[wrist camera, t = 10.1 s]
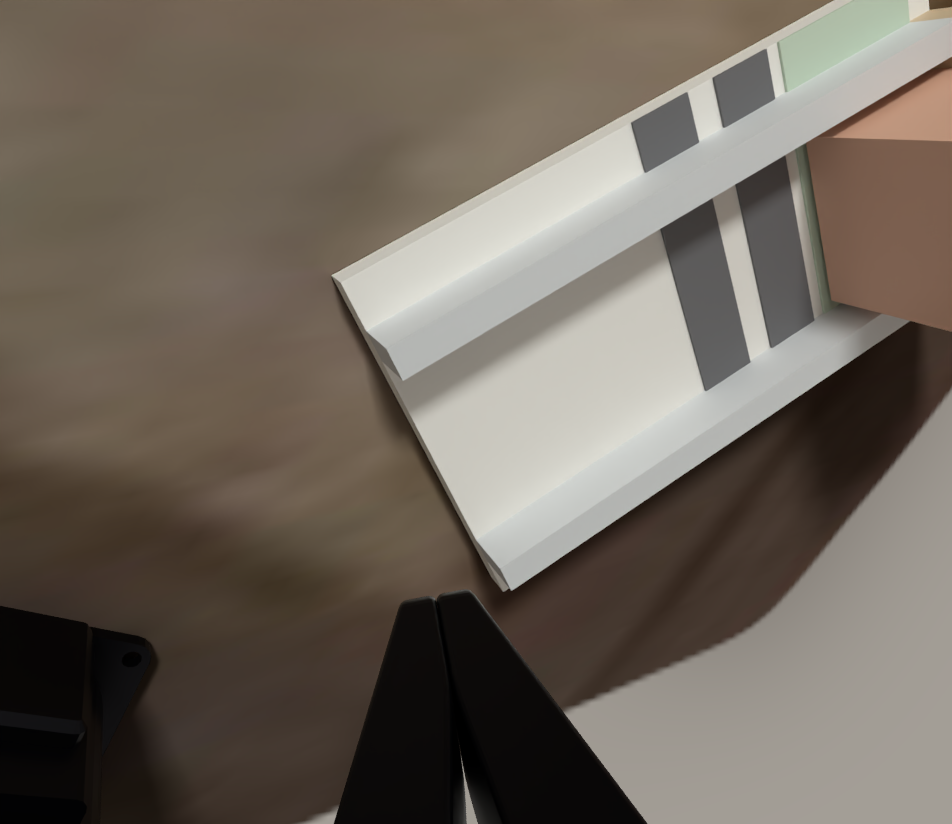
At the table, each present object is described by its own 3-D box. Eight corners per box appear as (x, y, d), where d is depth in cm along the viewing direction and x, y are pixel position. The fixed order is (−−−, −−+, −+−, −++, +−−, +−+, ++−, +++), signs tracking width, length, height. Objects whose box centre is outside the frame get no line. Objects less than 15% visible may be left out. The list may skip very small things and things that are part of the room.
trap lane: (490, 576, 26) (600, 712, 20) (331, 275, 20) (418, 341, 14) (926, 285, 30) (1122, 326, 24) (897, -35, 24) (1147, -83, 19)
